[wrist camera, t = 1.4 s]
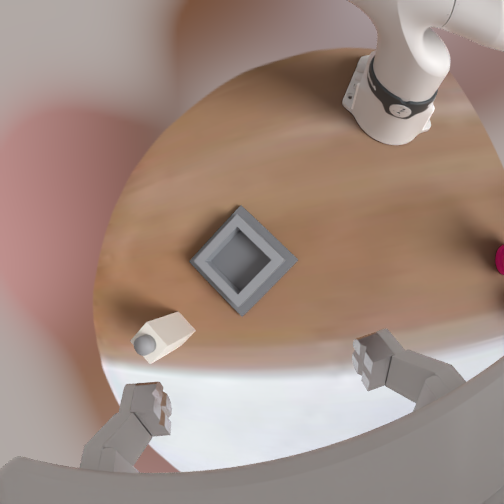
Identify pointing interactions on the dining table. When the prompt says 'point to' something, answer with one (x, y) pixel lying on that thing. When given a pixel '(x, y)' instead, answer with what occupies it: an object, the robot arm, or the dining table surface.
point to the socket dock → (243, 261)
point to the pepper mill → (500, 259)
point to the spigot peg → (162, 336)
